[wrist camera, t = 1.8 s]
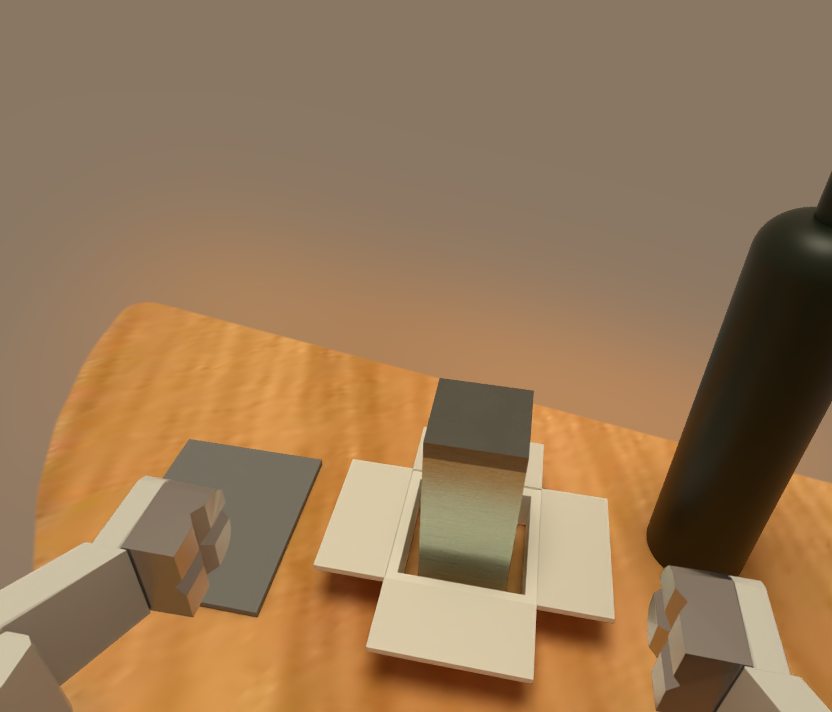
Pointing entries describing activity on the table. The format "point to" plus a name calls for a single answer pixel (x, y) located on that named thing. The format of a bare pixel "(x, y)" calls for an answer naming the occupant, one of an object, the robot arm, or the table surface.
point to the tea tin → (473, 482)
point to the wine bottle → (753, 399)
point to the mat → (248, 514)
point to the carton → (458, 603)
